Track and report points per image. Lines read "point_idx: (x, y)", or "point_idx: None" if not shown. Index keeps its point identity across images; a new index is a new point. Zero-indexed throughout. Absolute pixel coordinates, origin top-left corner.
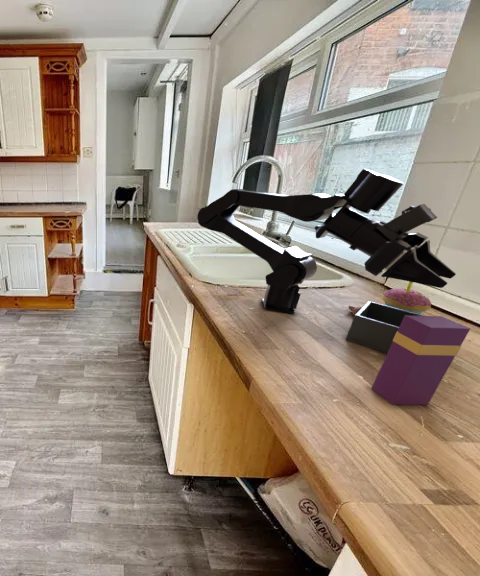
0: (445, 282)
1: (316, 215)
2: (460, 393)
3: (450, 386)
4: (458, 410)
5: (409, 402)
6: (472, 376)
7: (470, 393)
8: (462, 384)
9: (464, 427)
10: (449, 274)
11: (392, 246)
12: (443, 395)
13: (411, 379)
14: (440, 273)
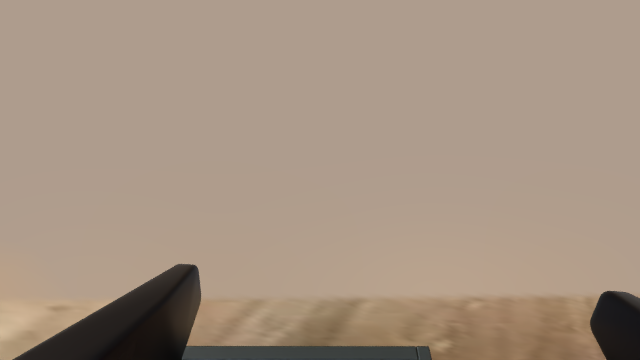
0: (633, 298)
1: None
2: (475, 316)
3: (462, 333)
4: (565, 316)
5: None
6: (345, 299)
7: (451, 301)
8: (419, 314)
9: None
10: (191, 298)
11: None
12: (532, 342)
13: None
14: (173, 356)
